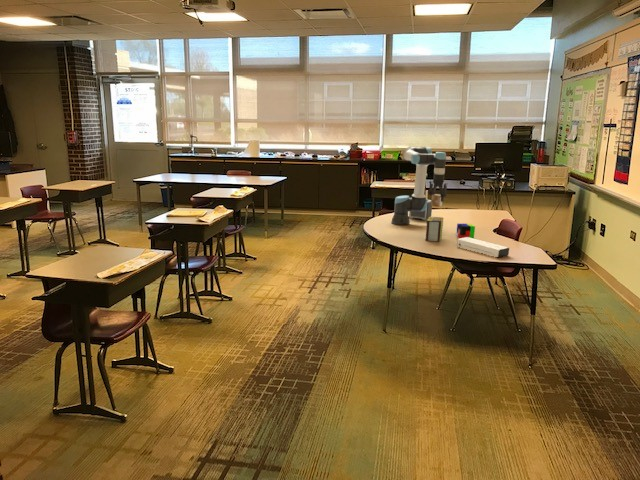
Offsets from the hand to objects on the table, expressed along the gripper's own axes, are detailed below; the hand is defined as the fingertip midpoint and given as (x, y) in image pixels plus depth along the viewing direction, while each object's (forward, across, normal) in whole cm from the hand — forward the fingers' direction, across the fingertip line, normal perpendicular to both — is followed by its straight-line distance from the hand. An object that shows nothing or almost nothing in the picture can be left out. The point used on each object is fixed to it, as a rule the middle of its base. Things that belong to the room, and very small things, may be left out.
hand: (436, 205), depth 366 cm
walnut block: (0, 0, 0) cm, 0 cm away
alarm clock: (+26, -48, +58) cm, 80 cm away
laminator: (+26, +40, -6) cm, 49 cm away
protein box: (+26, 0, 0) cm, 26 cm away
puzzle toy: (+26, +14, +22) cm, 37 cm away
